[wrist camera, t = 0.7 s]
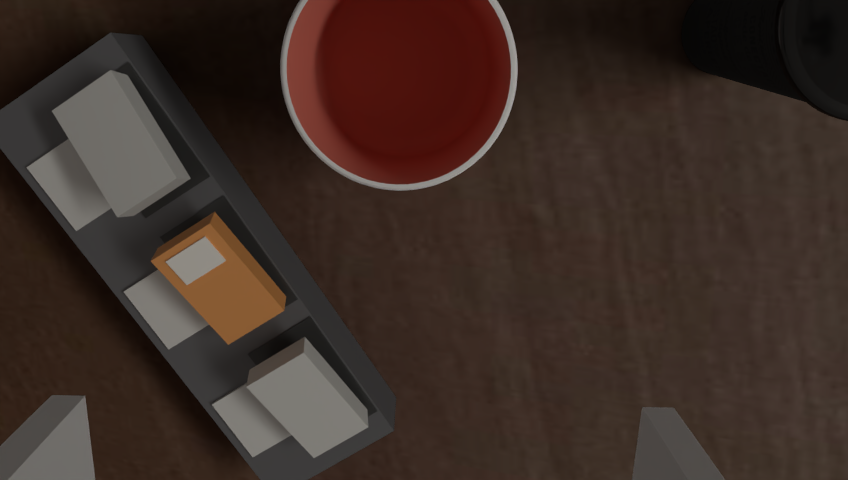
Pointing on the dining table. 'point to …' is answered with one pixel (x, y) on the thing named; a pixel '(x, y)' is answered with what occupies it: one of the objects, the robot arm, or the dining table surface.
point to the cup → (399, 85)
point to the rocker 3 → (308, 397)
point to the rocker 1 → (121, 144)
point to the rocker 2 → (220, 278)
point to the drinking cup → (775, 47)
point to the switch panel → (165, 219)
